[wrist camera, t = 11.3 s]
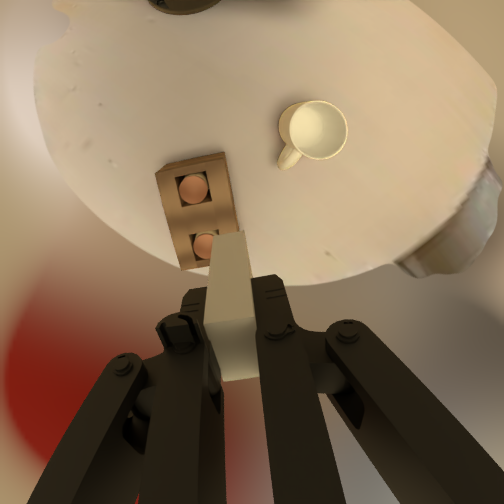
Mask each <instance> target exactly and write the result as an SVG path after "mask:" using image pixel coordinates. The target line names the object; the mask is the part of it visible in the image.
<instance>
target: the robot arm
mask: <svg viewBox="0 0 504 504" xmlns="http://www.w3.org/2000/svg"><path fill="white" fill-rule="evenodd" d="M148 1H149V3H150V4H151V5H152V6H153V7H154V8H156V9H158V10H159V11H162V12H164V13H168V14H173V15H187V14H193V13H198V12H201V11H204V10H206V9H208V8H210V7H212V6H214V5H216V4H217V3H218V2H220V1H221V0H148ZM155 329H156V331H157V333H158V335H159V338H160V340H161V342H162V344H163V346H164V352H163V353H161V354H159V355H157V356H154V357H152V358H148V359H145V360H142V359H141V358H140V357H139V356H138V355H137V354H134V353H123V354H120V355H118V356H116V357H115V358H113V359H112V360H111V361H110V362H109V363H108V364H107V366H106V367H105V369H104V370H103V372H102V373H101V375H100V376H99V378H98V380H97V381H96V383H95V384H94V386H93V388H92V389H91V391H90V392H89V394H88V396H87V397H86V399H85V400H84V402H83V404H82V405H81V407H80V409H79V410H78V412H77V414H76V415H75V417H74V419H73V420H72V422H71V424H70V425H69V427H68V429H67V430H66V432H65V434H64V435H63V437H62V439H61V441H60V443H59V444H58V446H57V448H56V450H55V451H54V453H53V455H52V457H51V458H50V460H49V462H48V464H47V466H46V468H45V469H44V471H43V473H42V475H41V477H40V479H39V481H38V483H37V485H36V487H35V488H34V491H33V492H32V494H31V496H30V498H29V500H28V503H27V504H135V501H136V499H137V496H138V494H139V500H138V504H227V501H226V473H225V437H224V436H225V435H224V392H223V389H222V386H221V376H222V378H223V381H231V380H239V379H246V378H253V377H260V385H261V393H262V402H263V411H264V419H265V429H266V437H267V446H268V454H269V463H270V471H271V480H272V488H273V497H274V504H346V501H345V497H344V493H343V488H342V485H341V481H340V477H339V473H338V469H337V465H336V461H335V457H334V453H333V449H332V445H331V442H330V439H329V434H328V430H327V427H326V423H325V419H324V416H323V412H322V408H321V404H320V401H319V397H318V394H317V393H325V394H326V395H327V397H328V398H329V400H330V401H331V403H332V404H333V406H334V407H335V409H336V410H337V412H338V413H339V415H340V416H341V418H342V419H343V421H344V422H345V424H346V425H347V427H348V428H349V430H350V431H351V432H352V434H353V436H354V437H355V438H356V440H357V441H358V443H359V444H360V446H361V447H362V449H363V450H364V452H365V453H366V455H367V456H368V458H369V459H370V461H371V462H372V464H373V465H374V466H375V468H376V469H377V471H378V472H379V474H380V475H381V477H382V478H383V480H384V481H385V482H386V484H387V485H388V487H389V488H390V490H391V491H392V493H393V494H394V495H395V497H396V498H397V500H398V501H399V502H400V504H504V471H503V470H502V469H501V468H500V467H499V466H498V464H497V463H496V462H495V461H494V460H493V459H492V458H491V457H490V456H489V454H488V453H487V452H486V451H485V450H484V449H483V447H482V446H481V445H480V444H479V443H478V442H477V441H476V440H475V439H474V438H473V436H472V435H471V434H470V433H469V432H468V431H467V430H466V429H465V428H464V427H463V425H462V424H461V423H460V422H459V421H458V420H457V419H456V418H455V417H454V416H453V415H452V414H451V412H450V411H449V410H448V409H447V408H446V407H445V406H444V405H443V404H442V403H441V402H440V401H439V400H438V399H437V398H436V397H435V395H434V394H433V393H432V392H431V391H430V390H429V389H428V388H427V387H426V386H425V385H424V384H423V383H422V382H421V381H420V380H419V379H418V378H417V377H416V376H415V375H414V374H413V373H412V372H411V370H410V369H409V368H408V367H407V366H406V365H405V364H404V363H403V362H402V361H401V360H400V359H399V358H398V357H397V356H396V355H395V354H394V353H393V352H392V351H391V350H390V349H389V348H388V347H387V346H386V345H385V344H384V343H383V342H382V341H381V340H380V339H379V338H378V337H377V336H376V335H375V334H374V333H373V332H372V331H371V330H370V329H369V328H368V327H367V326H366V325H365V324H363V323H362V322H360V321H356V320H341V321H337V322H335V323H333V324H332V325H330V326H329V328H328V329H327V331H326V332H314V331H308V330H305V329H303V328H301V327H299V326H298V325H297V324H296V323H295V321H294V318H293V315H292V311H291V308H290V304H289V301H288V298H287V294H286V291H285V287H284V284H283V280H282V279H281V278H279V277H278V276H277V275H276V274H273V275H268V276H262V277H256V278H253V276H252V271H251V265H250V260H249V255H248V249H247V244H246V238H245V233H244V231H238V232H232V233H227V234H221V235H215V236H213V243H212V251H211V259H210V268H209V276H208V285H207V287H202V288H195V289H189V291H188V292H187V293H186V294H185V296H184V297H183V300H182V305H181V309H180V312H178V313H174V314H171V315H169V316H167V317H165V318H163V319H162V320H161V321H160V322H159V323H158V325H157V326H156V328H155ZM139 491H140V492H139Z"/></svg>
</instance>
